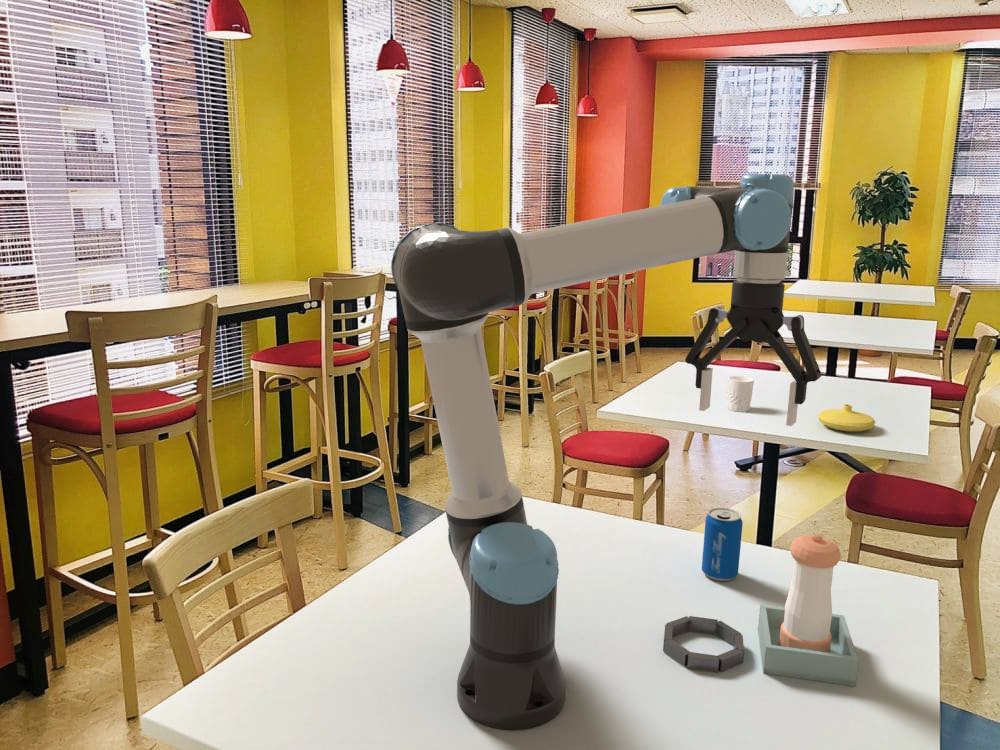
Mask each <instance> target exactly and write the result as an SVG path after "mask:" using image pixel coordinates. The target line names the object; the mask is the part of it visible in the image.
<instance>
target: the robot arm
mask: <svg viewBox="0 0 1000 750" xmlns="http://www.w3.org/2000/svg"><path fill="white" fill-rule="evenodd" d="M794 193H795V190H794V180H793V177H791V176H790V175H788V174H781V173H776V174H775V173H774V174H769V173H767V174H764V173H762V174H761V173H747V174H744V175H743V176H742V177H741V180H740V183H739V186H736V187H716V186H713V187H712V186H691V185H690V186H689V185H686V186H676V187H674V186H673V187H670V188H669V189H667V190H666V191H665V192H664V194H663V196H662V197H661V200H660V204H659V205H657V206H652V207H647V208H646V207H645V208H643V209H638V210H637V209H636V210H632V211H628V212H623V213H618V214H612V215H607V216H602V217H597V218H593V219H587V220H583V221H577V222H571V223H567V224H562V225H558V226H557V225H556V226H554V227H553V226H552V227H547V228H542V229H537V230H533V231H528V232H527V231H526V232H523V233H521V232H520V233H519V232H517V231H516V230H514V229H513V228H512V227H504V228H498V229H495V230H493V229H492V230H483V231H482V230H481V231H478V230H477V231H476V230H475V231H472V230H460V229H458V227H455V226H453V225H451V224H447V223H443V222H436V223H426V224H423V225H420V226H416V227H415V228H413V229H411V230H409V231H408V232H407V233H406V234H405V235H404V236H403V237H401V239H400V241H399V242H398V244H397V245H396V247H395V249H394V251H393V255H392V259H391V263H390V265H391V266H390V269H391V271H390V272H391V277H392V279H393V281H394V283H395V286H396V288H397V289H398V291H399V298H400V302H401V306H402V311H403V316H404V321H405V326H406V329H407V330H406V331H407V332H409V333H410V334H411V335H412V336H415V337H416V338H418V339H419V341H420V343H421V348H422V355H423V358H424V364H425V368H426V372H427V373H426V374H427V377H428V383H429V387H430V392H431V397H432V402H433V407H434V411H435V416H436V421H437V425H438V431H439V435H440V440H441V444H442V445H441V446H442V449H443V450H442V451H443V456H444V459H445V465H446V470H447V473H448V479H449V483H450V488H451V493H450V495H449V497H448V498H447V499H446V501H445V503H444V510H445V515H446V520H447V523H448V529H447V530H448V534H447V535H448V536H447V539H448V543H449V547H450V550H451V553H452V555H453V557H454V559H455V561H456V564H457V566H458V568H459V571H460V573H461V575H462V578H463V581H464V583H465V586H466V589H467V591H468V595H469V605H470V606H469V611H470V613H469V616H470V617H469V619H470V620H469V632H470V633H469V645H468V648H467V651H466V653H465V656H464V658H463V662H462V664H461V666H460V671H459V672H458V676H457V680H456V699H457V702H458V704H459V707H460V708H461V710H462V711H463V712H464V713H465V714H466V715H468V717H469V718H471V719H472V720H474V721H476V722H478V723H480V724H482V725H485V726H488V727H491V728H496V729H501V730H523V729H530V728H534V727H538V726H540V725H543V724H546V723H548V722H549V721H551V720H552V719H554V718H555V717H556V716H558V714H560V713H561V711H562V710H563V708H564V705H565V703H566V694H567V693H566V691H567V689H566V688H567V685H566V683H567V682H566V678H565V674H564V671H563V668H562V664H561V662H560V659H559V658H560V657H559V655H558V652H557V649H556V647H555V646H556V645H555V644H556V641H555V640H556V638H555V637H556V636H555V635H556V619H557V618H556V617H557V615H556V614H557V592H558V591H557V590H558V579H559V571H560V570H559V560H558V551H557V548H556V545H555V543H554V541H553V540H552V538H551V537H550V536H549V535H548V534H546V533H545V531H543V530H542V529H539V528H535V529H534V528H533V525H530V524H528V521H527V515H526V509H525V504H524V500H523V494H522V490H521V488H520V487H519V486H517V485H516V484H515V483H513V482H511V481H510V479H509V475H508V468H507V464H506V457H505V452H504V448H503V442H502V436H501V431H500V425H499V419H498V413H497V409H496V405H495V399H494V394H493V388H492V383H491V377H490V372H489V367H488V359H487V355H486V350H485V345H484V339H483V334H482V333H483V332H482V326H483V325H484V323H485V322H486V320H487V319H488V317H489V316H490V313H493V312H497V311H500V310H501V311H502V310H506V309H509V308H513V307H517V306H522V305H525V304H526V303H527V301H528V300H529V298H530V297H531V296H532V295H533V294H539V293H543V292H547V291H551V290H552V291H553V290H556V289H560V288H565V287H571V286H575V285H579V284H584V283H589V282H593V281H598V280H601V279H607V278H612V277H617V276H621V275H626V274H630V273H633V272H639V271H644V270H648V269H652V268H653V269H654V268H658V267H661V266H667V265H670V264H675V263H680V262H684V261H690V260H693V259H697V258H698V259H699V258H702V257H708V256H712V255H718V254H724V253H728V252H734V251H735V252H734V259H733V260H734V261H733V262H734V263H733V272H732V273H733V277H734V278H736V279H735V280H733V282H732V284H731V285H732V286H731V297H730V308H729V310H726V309H724V308H723V309H722V307H720V306H716V307H713V308H711V309H709V312H708V317H707V321H706V324H705V325H704V327H703V328H702V330H701V331H700V333H699V335H698V337H697V339H696V340H695V341H694V343H693V344H692V347H691V348H690V350H689V352H688V354H687V355H686V357H685V359H684V360H685V363H686V364H687V365H692V366H694V367H695V369H696V373H695V385H694V386H695V387H696V389H700V395H699V408H698V410H699V411H701V412H704V411H706V410H708V409H710V406H711V396H712V395H711V394H712V385H713V384H712V383H713V371H714V368H713V367H708V366H710V364H711V363H712V362H713V361H714V360H715V359H717V358H718V357H719V356H720V354H722V353H723V352H724V351H725V350H726V349H727V347H729V346H730V345H731V344H732V343H733V342H734V341H736V339H740V340H741V341H743V342H749V341H752V342H755V343H758V344H759V343H760V344H762V343H765V342H767V344H768V345H769V347H770V348H772V349H773V350H774V352H775V353H776V355H777V356H778V358H779V359H780V360H781V362H782V363H783V365H784V366H785V368H786V369H787V371H788V372H789V373H790V374H791V377H792V378H793V379H794V380H792V382H790V384H789V391H788V392H789V395H788V403H787V404H788V405H787V413H786V415H787V416H786V422H785V425H786V426H789V427H792V426H793V425H795V423H797V417H798V408H799V407H798V406H799V405H803V404H804V403H805V401H806V397H807V389H808V388H807V387H808V383H810V382H817V380H819V379H820V378H821V377H822V372H821V369H820V367H819V364H818V362H817V358H816V357H815V354H814V351H813V349H812V346H811V344H810V341H809V339H808V336H807V333H806V331H805V318H804V315H802V314H798V315H795V316H785V315H784V313H783V306H784V296H785V284H784V282H783V281H782V280H784V279H786V276H787V267H788V266H787V265H788V257H789V256H788V255H789V252H788V251H789V245H790V244H789V243H790V235H791V225H792V214H793V209H794V206H795V205H794ZM725 319H726V320H727V322H728V324H729V325H730V327H731V329H729V330H728V331H727V333H725V334H724V335H723V337H722V338H721V339H720V340H719V341H718V342H717V343H716V344H714V346H712V348H710V350H708V351H707V352H706V353H705V354H704V355H703V356H702V357H701V355H702V353H703V351H704V349H706V346H707V345H708V343H709V342H710V339H711V338H712V336H713V335H714V333H715V331H716V330H717V328H718V326H719V324H722V322H724V321H725ZM784 325H785V327H786V328H787V330H788V331H789V332H791V335H792V339H793V341H794V344H795V346H796V348H797V352H798V354H799V357H800V359H801V361H802V363H803V366H804V368H803V366H802V364H801V363H800V362H799V360H798V358H797V357H796V356H795V355H794V353H793V351H791V349H790V348H789V347H788V345H787V343H786V342H785V341H784V340H785V339H784V337H783V335H782V334H781V333H780V331H779V330H780V329H781V328H782V327H783V326H784Z"/></svg>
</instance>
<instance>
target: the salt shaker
mask: <svg viewBox="0 0 1000 750" xmlns="http://www.w3.org/2000/svg"><path fill="white" fill-rule="evenodd" d="M789 551H790V555H791V556H792V557H791V558H792V559H793V560H794V561H793V570H792V578H791V583H790V587H789V591H788V594H787V598H786V601H785V605H784V608H785V615H784V622H783V623H782V625H781V629H780V638H779V646H783V647H791V648H798V649H805V650H812V651H820V652H827V653H830V647H831V639H832V636H831V633H830V626H831V619H832V614H833V606H832V604H833V602H832V583H833V575H834V567H835V566H837V565H838V563H839V561H840V560H841V557H842V556H841V552H840V549H839V546H838V545H837V543H836V542H834V541H832V540H831V539H829V538H826V537H824V536H822V535H821V534H819V533H812V534H807V535H806V534H805V535H800V536H798V537H796V538H795V539H793V541H792V542H791V544H790V547H789Z"/></svg>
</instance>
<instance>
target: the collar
mask: <svg viewBox="0 0 1000 750" xmlns="http://www.w3.org/2000/svg"><path fill="white" fill-rule="evenodd" d="M689 632H694V633H699V634H700V633H701V634H709V635H715V636H717V637H718V638H720V639H722V640H724V642H726V643H728V644H730V645H731V646H732V647H733V649H731V650H728V651H725V652H724V653H720V654H718V655H714V654H707V653H699V652H695V651H690V650H688V649H687V648H685V647H684V646H682V645H681V644H679V643H678V642H677V641H675V640H674V639H673V638H675V637H677V636H678V637H679V636H681V635H684V634H686V633H689ZM662 646H663V647H662V650H663V653H664V654H665V655H667V656H668V657H670V658H671V659H672V660H674V661H675V662H677V663H678V664H679V665H681V666H683V667H684V668H685V667H686V668H687V669H690V670H691V669H692V670H696V671H705V672H710V673H711V672H712V673H719V672H720V673H722V672H725V671H728V670H730V669H732V668H735V667H737V666H740V665H742V664H743V663H744V655H745V654H744V653H745V645H744V636H743V634H742V633H741V632H739V631H738V630H737V629H735V628H733V627H731V626H730V625H728V624H727V623H726V622H723V620H718V619H714V618H708V617H702V616H701V617H698V616H693V615H689V616H687V615H686V616H683V617H681V618H678V619H675V620H673V621H668V622H666V623H665V625H664V633H663V645H662Z"/></svg>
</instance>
